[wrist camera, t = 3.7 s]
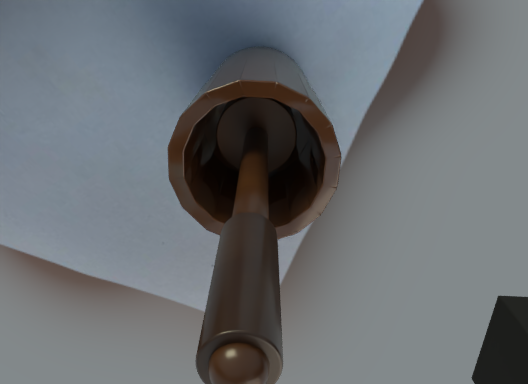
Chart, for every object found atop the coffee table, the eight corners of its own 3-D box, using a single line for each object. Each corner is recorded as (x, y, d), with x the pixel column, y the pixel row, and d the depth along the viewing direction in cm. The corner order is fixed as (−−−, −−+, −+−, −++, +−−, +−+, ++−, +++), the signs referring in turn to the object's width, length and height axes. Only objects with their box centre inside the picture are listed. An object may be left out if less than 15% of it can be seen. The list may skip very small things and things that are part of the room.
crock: (314, 49, 36) (351, 85, 20) (304, 149, 39) (330, 246, 24) (209, 43, 36) (164, 75, 20) (209, 144, 39) (170, 238, 23)
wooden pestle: (297, 90, 28) (372, 301, 8) (291, 163, 30) (340, 474, 10) (220, 86, 28) (108, 288, 8) (219, 159, 30) (127, 465, 10)
